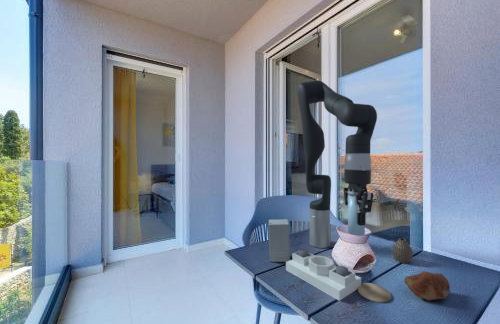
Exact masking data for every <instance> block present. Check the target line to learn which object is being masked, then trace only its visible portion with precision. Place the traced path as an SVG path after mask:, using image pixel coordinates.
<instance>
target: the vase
mask: <svg viewBox="0 0 500 324" xmlns="http://www.w3.org/2000/svg"><path fill="white" fill-rule="evenodd" d="M413 253H414V252H413V249H412V247H411V245H410V244H409V243H408V241H407V240H406V239H405V238H398V239H397V241H395V242H394V244H393V245H392V247H391V255H392V257H393V258H394V259H395V261H397V262H398V261H399V263H401V264H402V263H403V264H408V263H409V262H411V261H412V259H413V257H414V254H413Z"/></svg>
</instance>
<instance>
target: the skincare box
mask: <svg viewBox="0 0 500 324" xmlns="http://www.w3.org/2000/svg"><path fill="white" fill-rule="evenodd" d="M268 243H269V244H268V246H269V247H268V248H269V249H268V250H269V263H286V262H287V261H290V260H291V252H290V251H291V250H290V248H291V247H290V243H291V242H290V222H289V219H285V218H284V219H268Z"/></svg>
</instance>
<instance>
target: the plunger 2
mask: <svg viewBox="0 0 500 324" xmlns="http://www.w3.org/2000/svg"><path fill="white" fill-rule="evenodd" d="M348 270H349V267H347V266H345V265H336V273H337V274H339V275H341V276H343V277H346V276H347V275H348Z"/></svg>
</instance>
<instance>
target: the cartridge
mask: <svg viewBox="0 0 500 324" xmlns="http://www.w3.org/2000/svg"><path fill="white" fill-rule="evenodd" d="M355 194H356V195H357V196H358V193H355ZM354 197H355V195H354V192H352V191H348V207H347V234H349V235H354V236H361V237H362V236H365V232H366V231H365V230H366V227H365V226H366V224H365V225H364V226H360V225H358V224H357V213H358V211H357V206H356V205H355V203H354ZM358 202H362V200H358ZM360 208H361V205H360Z"/></svg>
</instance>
